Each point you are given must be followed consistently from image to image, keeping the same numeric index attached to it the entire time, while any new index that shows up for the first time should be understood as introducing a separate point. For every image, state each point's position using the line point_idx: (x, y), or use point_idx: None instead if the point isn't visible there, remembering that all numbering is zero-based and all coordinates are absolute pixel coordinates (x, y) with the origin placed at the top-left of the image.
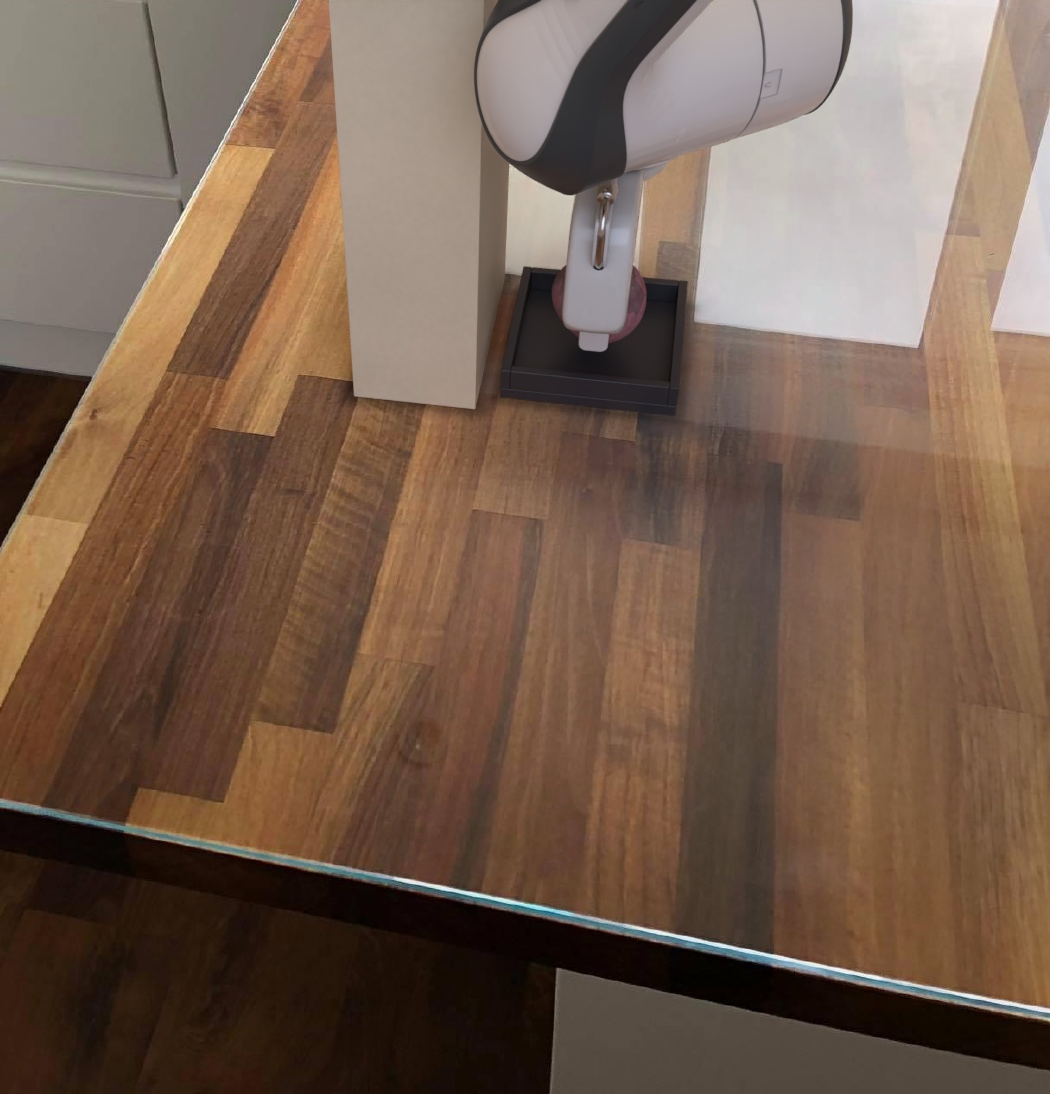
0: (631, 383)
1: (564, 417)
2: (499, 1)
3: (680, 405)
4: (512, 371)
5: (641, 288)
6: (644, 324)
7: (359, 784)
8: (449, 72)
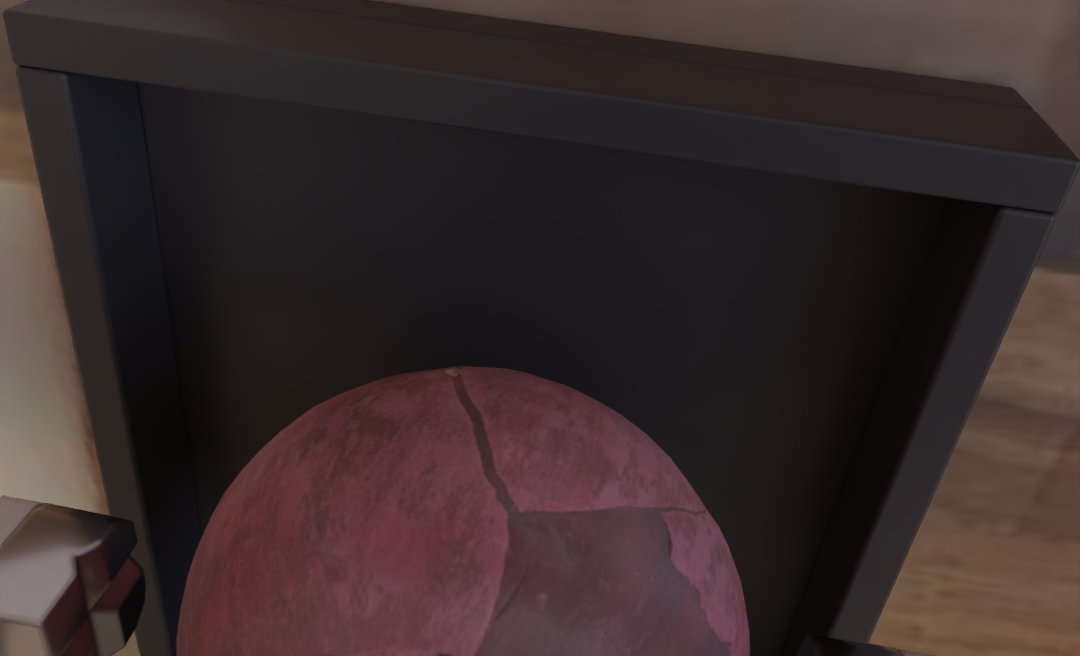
0: (973, 397)
1: (928, 518)
2: None
3: (927, 47)
4: None
5: (506, 571)
6: (347, 211)
7: None
8: None
